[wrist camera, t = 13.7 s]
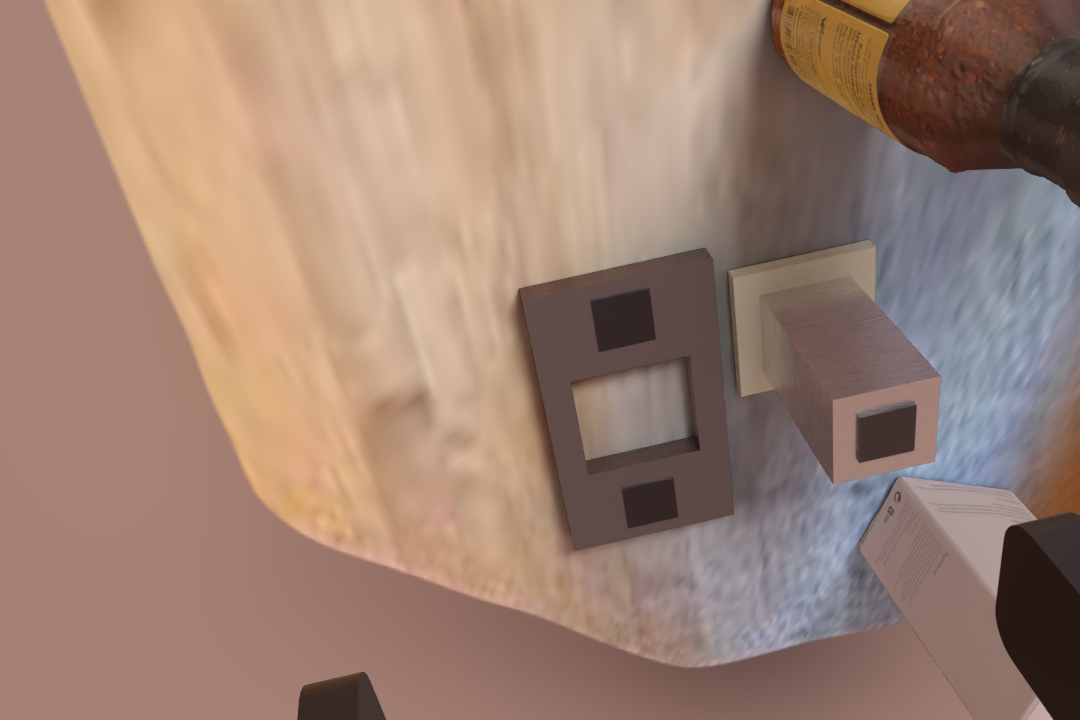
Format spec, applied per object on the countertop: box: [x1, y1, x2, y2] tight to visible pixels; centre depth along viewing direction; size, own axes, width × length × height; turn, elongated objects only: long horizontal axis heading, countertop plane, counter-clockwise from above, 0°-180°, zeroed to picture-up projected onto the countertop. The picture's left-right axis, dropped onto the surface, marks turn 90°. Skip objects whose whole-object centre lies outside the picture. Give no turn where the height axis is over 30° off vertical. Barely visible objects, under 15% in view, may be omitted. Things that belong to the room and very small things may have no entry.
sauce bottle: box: [771, 0, 1080, 207], centre depth 32 cm, size 6×6×20 cm
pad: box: [728, 240, 876, 397], centre depth 48 cm, size 7×7×1 cm
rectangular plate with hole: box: [519, 248, 734, 550], centre depth 49 cm, size 9×16×1 cm, turn 10°
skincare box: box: [859, 476, 1053, 720], centre depth 51 cm, size 8×6×15 cm
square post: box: [760, 276, 941, 484], centre depth 44 cm, size 4×4×9 cm
